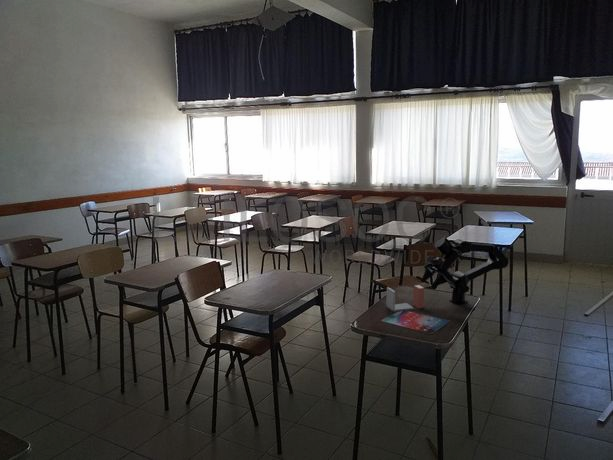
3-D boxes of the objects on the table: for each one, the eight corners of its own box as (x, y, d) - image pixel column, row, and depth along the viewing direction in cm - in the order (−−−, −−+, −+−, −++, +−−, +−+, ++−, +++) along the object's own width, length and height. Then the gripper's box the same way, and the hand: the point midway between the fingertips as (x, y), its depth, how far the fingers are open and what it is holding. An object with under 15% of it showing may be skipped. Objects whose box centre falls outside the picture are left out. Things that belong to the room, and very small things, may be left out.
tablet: (400, 310, 228) (400, 308, 228) (450, 322, 213) (450, 320, 212) (379, 322, 214) (379, 320, 214) (431, 336, 198) (432, 334, 198)
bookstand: (406, 304, 234) (407, 285, 233) (413, 309, 228) (414, 289, 226) (386, 307, 231) (386, 287, 229) (392, 312, 225) (393, 291, 223)
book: (418, 304, 235) (419, 284, 233) (423, 307, 230) (424, 287, 228) (413, 305, 234) (413, 285, 232) (418, 308, 230) (418, 288, 228)
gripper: (427, 246, 239) (407, 269, 238) (448, 254, 221) (426, 279, 220) (440, 260, 242) (420, 282, 241) (462, 269, 225) (440, 294, 224)
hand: (426, 284), depth 231 cm, fingers open, 9 cm apart
